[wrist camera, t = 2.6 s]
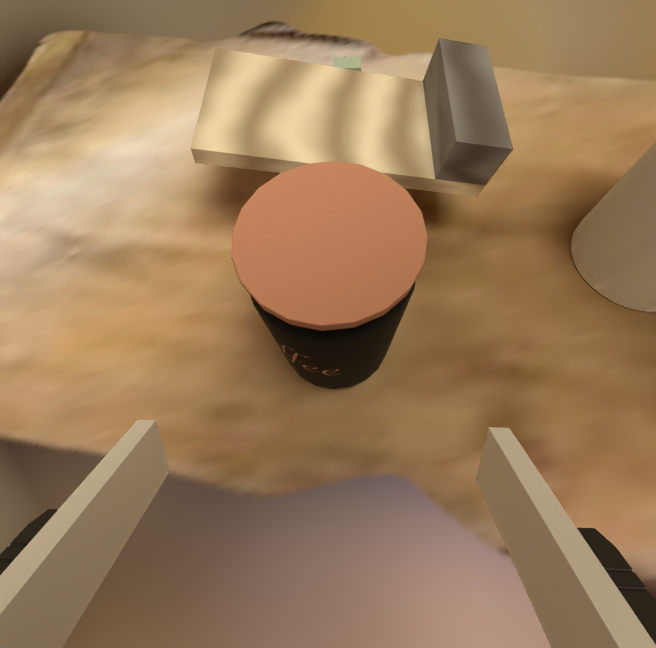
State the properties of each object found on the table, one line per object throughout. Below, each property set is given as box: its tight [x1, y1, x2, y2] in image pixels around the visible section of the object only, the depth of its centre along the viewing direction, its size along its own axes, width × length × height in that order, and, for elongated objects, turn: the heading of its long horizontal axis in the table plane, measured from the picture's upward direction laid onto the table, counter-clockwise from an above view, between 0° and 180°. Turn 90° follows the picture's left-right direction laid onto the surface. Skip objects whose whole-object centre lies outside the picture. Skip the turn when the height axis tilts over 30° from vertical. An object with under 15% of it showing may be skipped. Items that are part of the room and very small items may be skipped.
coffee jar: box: [232, 161, 428, 389], centre depth 26 cm, size 11×11×18 cm
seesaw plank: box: [191, 38, 513, 197], centre depth 31 cm, size 27×16×7 cm, turn 89°
